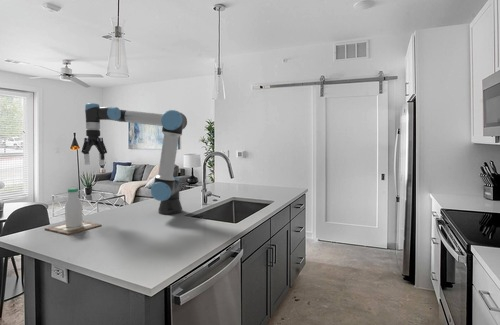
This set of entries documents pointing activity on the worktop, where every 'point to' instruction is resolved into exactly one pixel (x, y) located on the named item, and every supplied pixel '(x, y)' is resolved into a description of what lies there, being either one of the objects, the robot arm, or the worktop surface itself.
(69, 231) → the writing board
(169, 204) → the robot arm
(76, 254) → the worktop surface
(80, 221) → the milk bottle
